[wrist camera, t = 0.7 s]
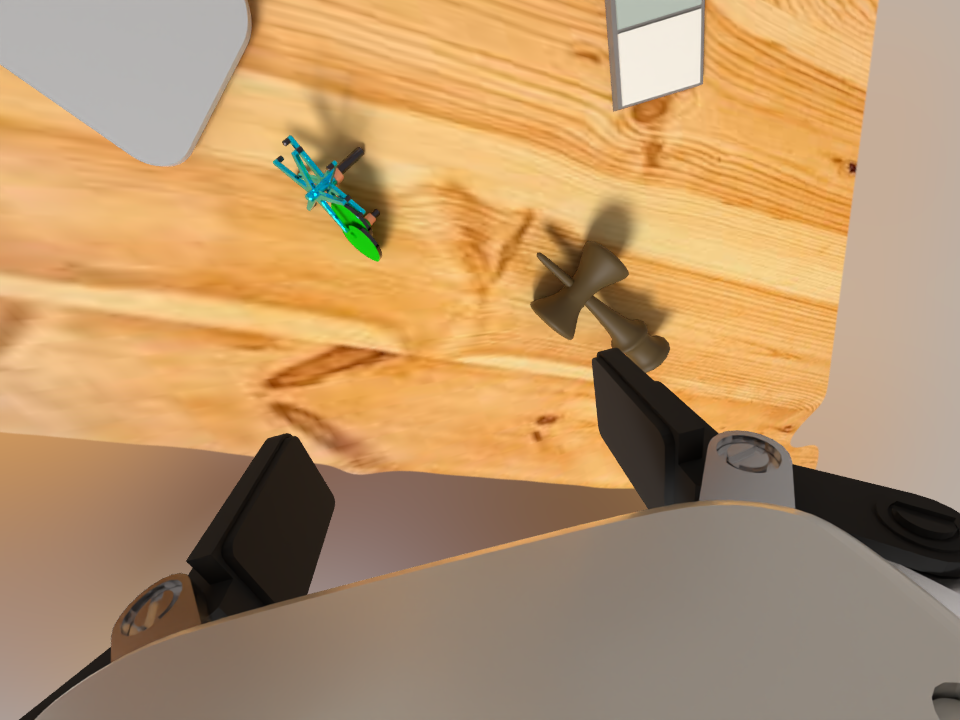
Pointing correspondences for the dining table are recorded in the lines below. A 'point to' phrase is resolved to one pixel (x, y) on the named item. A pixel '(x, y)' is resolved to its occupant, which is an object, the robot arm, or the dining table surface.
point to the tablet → (129, 65)
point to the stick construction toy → (334, 197)
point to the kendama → (598, 306)
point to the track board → (654, 48)
